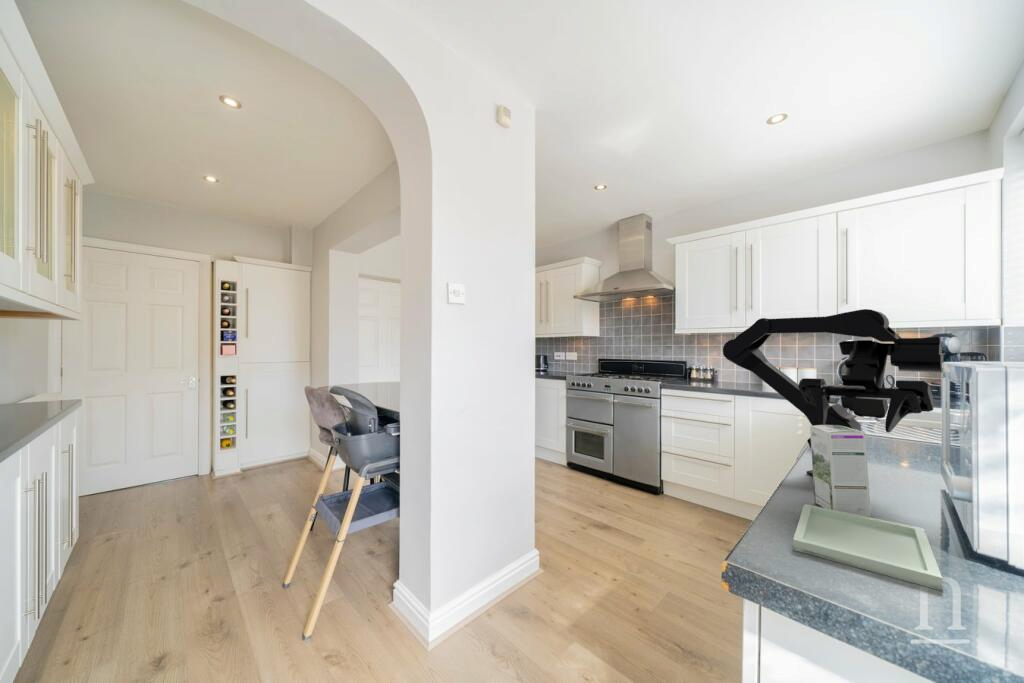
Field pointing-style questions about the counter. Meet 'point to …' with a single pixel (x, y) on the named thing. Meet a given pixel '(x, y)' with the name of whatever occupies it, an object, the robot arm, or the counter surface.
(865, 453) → the syrup box
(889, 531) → the tray
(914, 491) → the counter surface
